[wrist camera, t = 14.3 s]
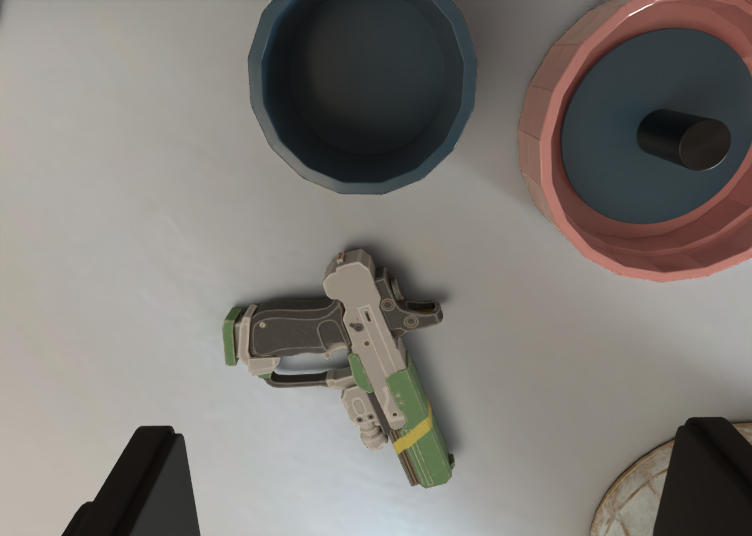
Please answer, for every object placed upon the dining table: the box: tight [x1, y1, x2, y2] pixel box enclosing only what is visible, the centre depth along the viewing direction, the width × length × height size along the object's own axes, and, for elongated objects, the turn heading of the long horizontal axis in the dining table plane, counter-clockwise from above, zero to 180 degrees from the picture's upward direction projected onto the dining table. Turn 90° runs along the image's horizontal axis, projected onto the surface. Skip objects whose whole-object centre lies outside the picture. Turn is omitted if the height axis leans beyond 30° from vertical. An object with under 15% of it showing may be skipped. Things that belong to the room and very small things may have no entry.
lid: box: [559, 28, 752, 224], centre depth 30 cm, size 11×11×6 cm
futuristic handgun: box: [222, 249, 455, 488], centre depth 39 cm, size 3×19×15 cm
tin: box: [248, 0, 477, 195], centre depth 29 cm, size 10×10×8 cm
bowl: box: [518, 0, 752, 282], centre depth 31 cm, size 16×16×6 cm
